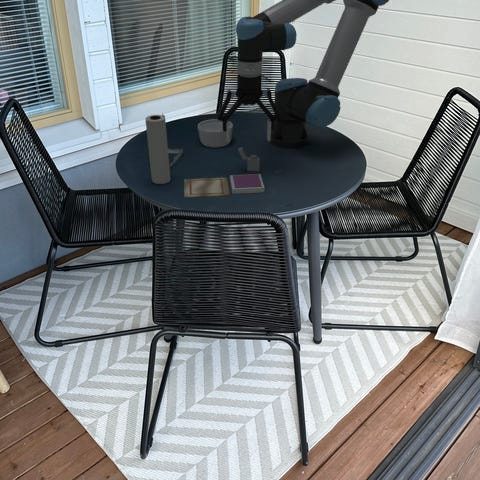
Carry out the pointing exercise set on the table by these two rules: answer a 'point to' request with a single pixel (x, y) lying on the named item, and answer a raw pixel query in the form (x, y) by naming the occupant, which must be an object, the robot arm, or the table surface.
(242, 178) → the ink pad
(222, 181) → the marked board
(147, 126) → the paper towel roll
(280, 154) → the table surface
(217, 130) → the ramekin
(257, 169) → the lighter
